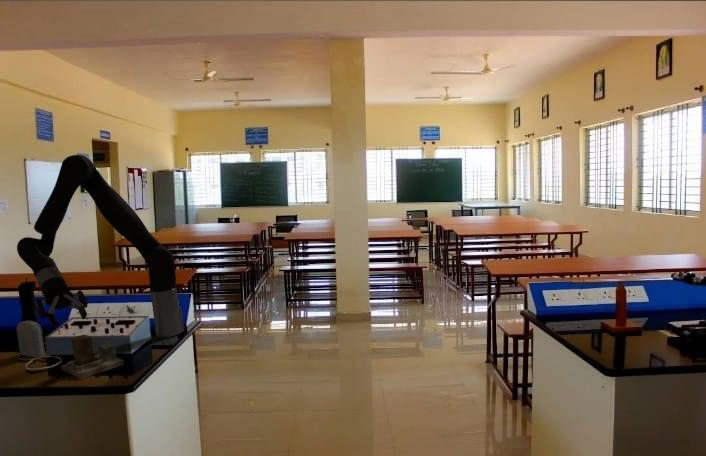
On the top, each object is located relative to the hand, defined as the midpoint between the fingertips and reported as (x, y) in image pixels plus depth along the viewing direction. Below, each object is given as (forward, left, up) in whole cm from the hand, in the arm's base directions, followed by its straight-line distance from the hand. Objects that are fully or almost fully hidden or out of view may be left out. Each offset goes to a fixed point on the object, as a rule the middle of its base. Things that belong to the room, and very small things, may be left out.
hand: (70, 321), depth 163 cm
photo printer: (+4, -29, -15) cm, 33 cm away
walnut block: (0, +7, -13) cm, 15 cm away
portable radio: (-4, -54, -15) cm, 56 cm away
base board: (-2, +7, -15) cm, 16 cm away
